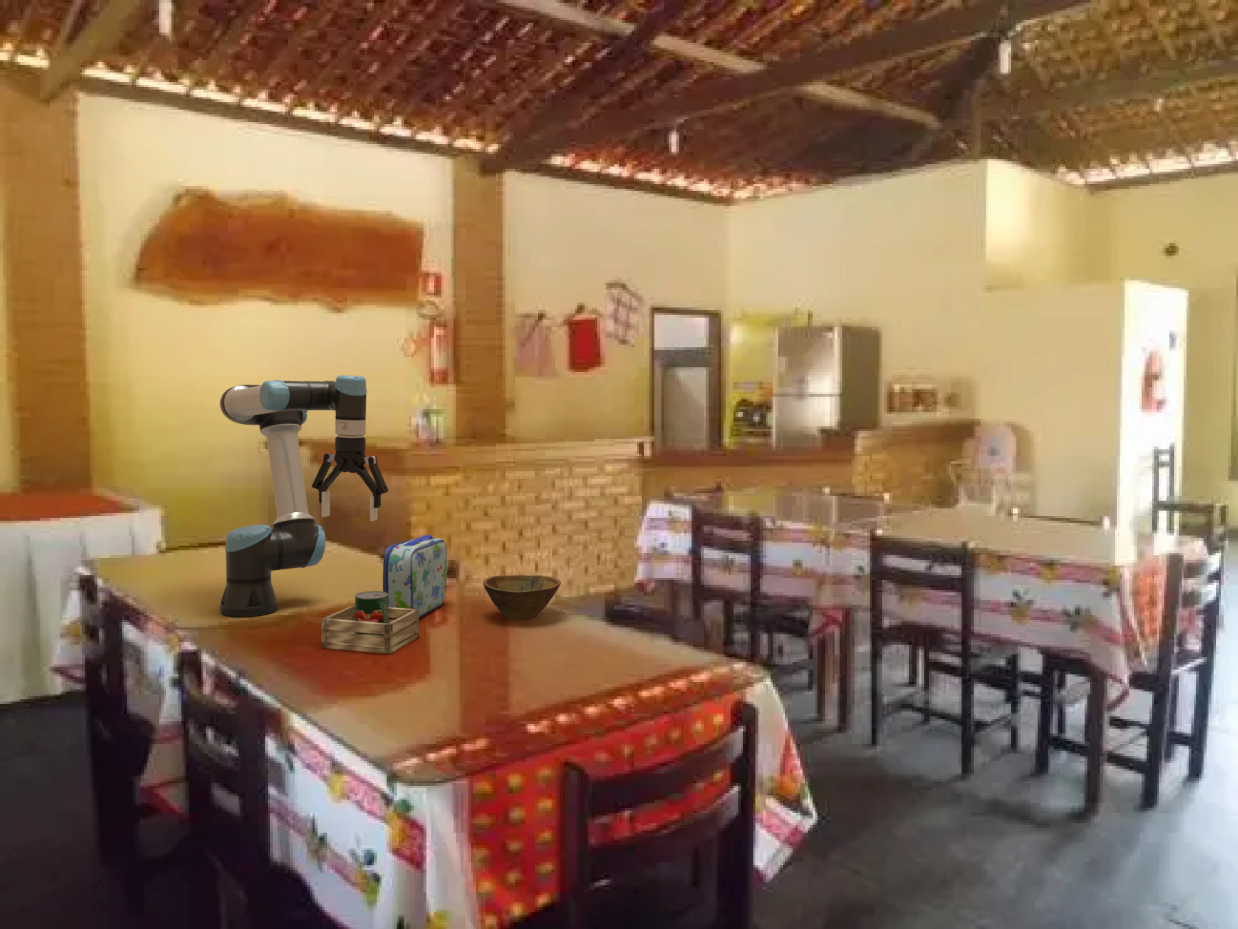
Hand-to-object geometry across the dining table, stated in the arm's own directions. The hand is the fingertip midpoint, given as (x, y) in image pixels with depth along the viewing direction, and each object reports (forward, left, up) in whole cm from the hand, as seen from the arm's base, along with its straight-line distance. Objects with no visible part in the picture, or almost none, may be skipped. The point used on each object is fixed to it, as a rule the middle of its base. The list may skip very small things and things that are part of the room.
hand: (349, 518), depth 244 cm
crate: (+11, -9, -29) cm, 32 cm away
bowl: (+38, +27, -29) cm, 55 cm away
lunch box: (+8, +23, -29) cm, 38 cm away
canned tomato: (+11, -9, -28) cm, 32 cm away
